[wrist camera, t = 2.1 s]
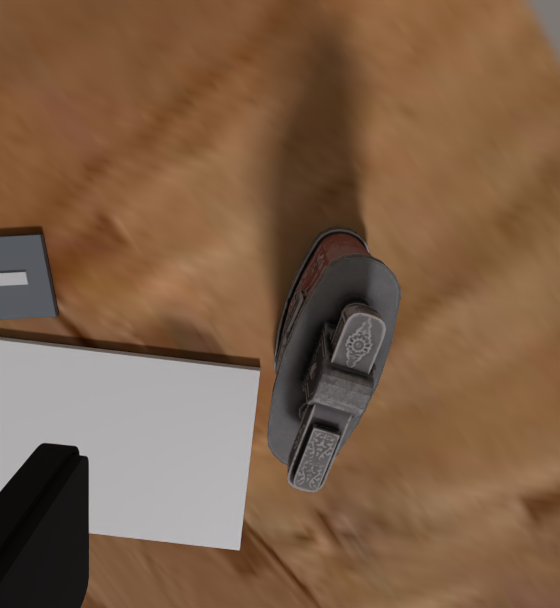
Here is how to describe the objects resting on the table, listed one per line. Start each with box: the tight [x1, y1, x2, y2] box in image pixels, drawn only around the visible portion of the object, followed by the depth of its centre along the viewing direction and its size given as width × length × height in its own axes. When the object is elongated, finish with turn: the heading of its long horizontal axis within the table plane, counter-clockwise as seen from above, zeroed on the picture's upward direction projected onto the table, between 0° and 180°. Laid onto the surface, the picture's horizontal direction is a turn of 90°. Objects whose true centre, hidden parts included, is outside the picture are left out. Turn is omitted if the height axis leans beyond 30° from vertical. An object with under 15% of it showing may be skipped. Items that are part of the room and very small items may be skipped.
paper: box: [0, 337, 260, 550], centre depth 26 cm, size 15×11×1 cm
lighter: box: [267, 227, 401, 492], centre depth 19 cm, size 8×3×10 cm, turn 162°
